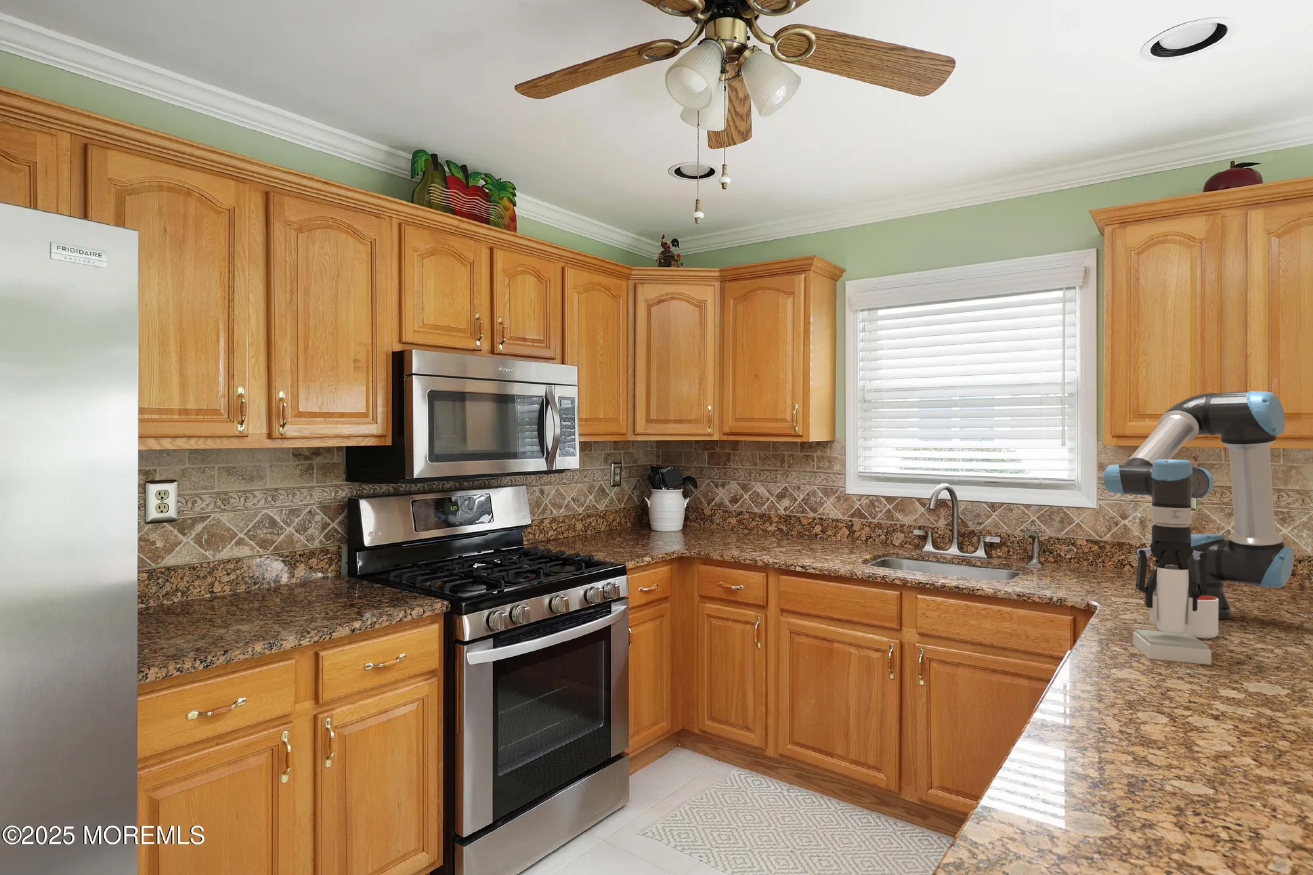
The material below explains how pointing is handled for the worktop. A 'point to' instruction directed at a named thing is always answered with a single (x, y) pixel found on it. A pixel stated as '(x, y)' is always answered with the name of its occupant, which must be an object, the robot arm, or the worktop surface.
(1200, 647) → the coaster
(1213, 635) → the cup
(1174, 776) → the worktop surface
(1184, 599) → the drinking glass
